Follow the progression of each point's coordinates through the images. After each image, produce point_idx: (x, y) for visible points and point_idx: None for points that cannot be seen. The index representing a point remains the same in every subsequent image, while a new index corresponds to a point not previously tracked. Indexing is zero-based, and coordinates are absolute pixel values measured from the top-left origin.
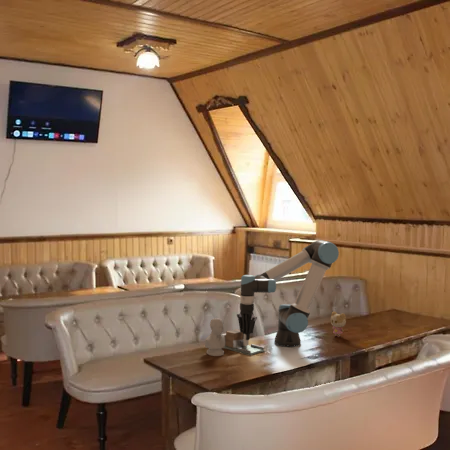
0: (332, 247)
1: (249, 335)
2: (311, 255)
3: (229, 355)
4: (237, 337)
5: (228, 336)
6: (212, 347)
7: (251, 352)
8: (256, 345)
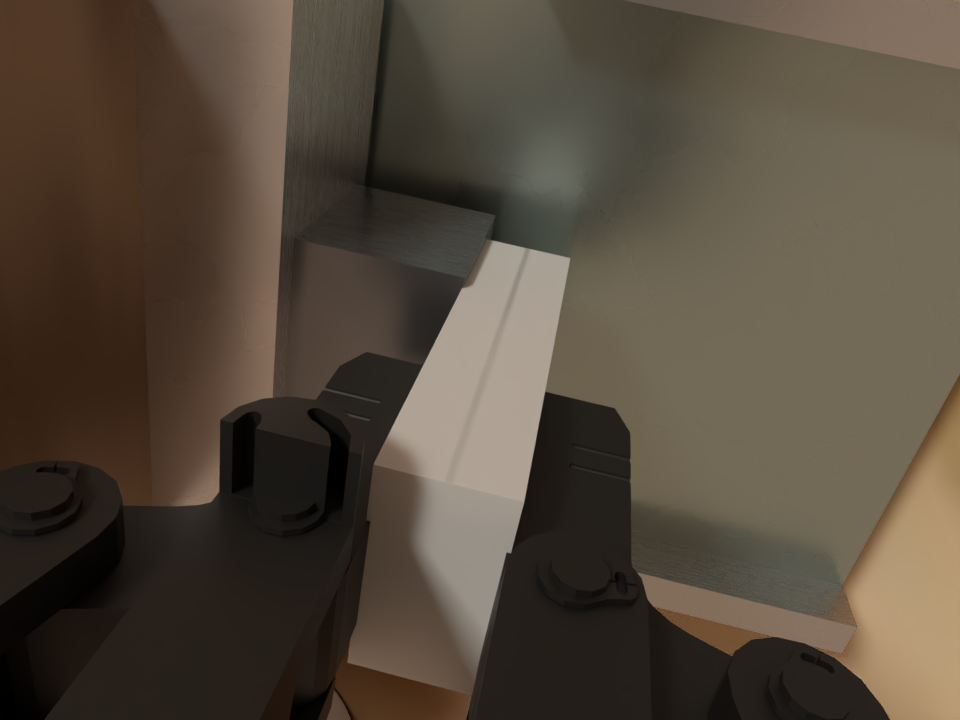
0: None
1: (627, 541)
2: None
3: (458, 714)
4: (111, 424)
5: None
6: None
7: (836, 542)
8: (800, 13)
